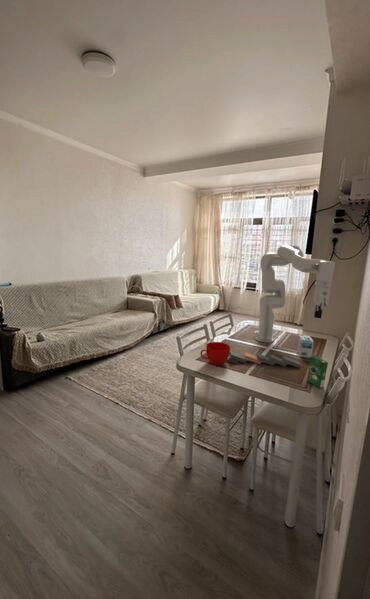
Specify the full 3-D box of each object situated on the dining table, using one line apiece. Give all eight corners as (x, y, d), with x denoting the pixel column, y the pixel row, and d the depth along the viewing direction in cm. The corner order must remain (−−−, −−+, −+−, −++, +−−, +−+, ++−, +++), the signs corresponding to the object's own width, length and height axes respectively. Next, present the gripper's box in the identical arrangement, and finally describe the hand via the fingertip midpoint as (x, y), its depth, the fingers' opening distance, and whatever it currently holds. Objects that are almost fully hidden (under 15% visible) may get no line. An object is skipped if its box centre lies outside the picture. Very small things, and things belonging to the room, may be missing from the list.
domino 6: (299, 368, 153) (283, 362, 153) (296, 364, 158) (281, 358, 158) (300, 364, 153) (284, 359, 153) (298, 361, 157) (282, 355, 158)
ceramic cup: (194, 361, 156) (195, 343, 154) (221, 357, 163) (222, 340, 161) (205, 370, 145) (206, 352, 143) (233, 366, 151) (234, 349, 149)
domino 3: (260, 364, 156) (244, 358, 157) (259, 360, 161) (244, 355, 161) (261, 361, 155) (245, 355, 156) (260, 357, 160) (245, 352, 161)
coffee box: (324, 387, 132) (328, 361, 130) (320, 388, 131) (323, 362, 129) (311, 380, 140) (314, 355, 137) (306, 380, 139) (310, 355, 136)
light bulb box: (311, 358, 168) (314, 341, 165) (299, 357, 169) (302, 339, 167) (307, 351, 178) (310, 335, 176) (296, 350, 179) (298, 334, 177)
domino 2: (245, 363, 157) (230, 357, 156) (243, 359, 161) (228, 353, 161) (246, 359, 156) (231, 354, 156) (244, 356, 161) (230, 350, 160)
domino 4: (273, 365, 155) (257, 359, 155) (271, 362, 160) (256, 356, 160) (274, 362, 154) (259, 356, 155) (273, 358, 159) (257, 353, 159)
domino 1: (237, 363, 157) (220, 361, 158) (236, 359, 162) (220, 358, 163) (237, 359, 157) (221, 358, 158) (236, 356, 162) (221, 355, 163)
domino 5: (285, 366, 154) (269, 360, 154) (283, 363, 159) (268, 357, 159) (287, 363, 153) (271, 357, 154) (284, 359, 158) (269, 354, 159)
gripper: (335, 287, 141) (329, 322, 145) (326, 282, 155) (320, 314, 160) (320, 286, 142) (314, 320, 146) (311, 281, 157) (306, 313, 161)
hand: (317, 317), depth 153 cm, fingers closed
